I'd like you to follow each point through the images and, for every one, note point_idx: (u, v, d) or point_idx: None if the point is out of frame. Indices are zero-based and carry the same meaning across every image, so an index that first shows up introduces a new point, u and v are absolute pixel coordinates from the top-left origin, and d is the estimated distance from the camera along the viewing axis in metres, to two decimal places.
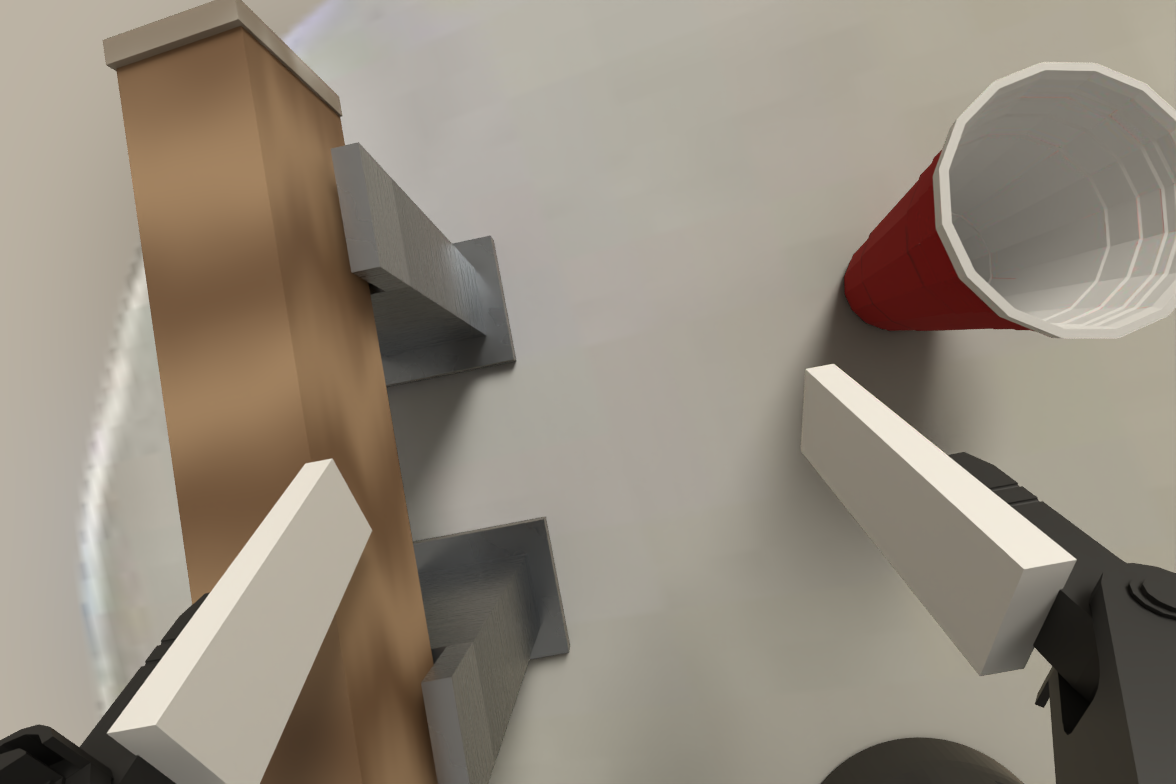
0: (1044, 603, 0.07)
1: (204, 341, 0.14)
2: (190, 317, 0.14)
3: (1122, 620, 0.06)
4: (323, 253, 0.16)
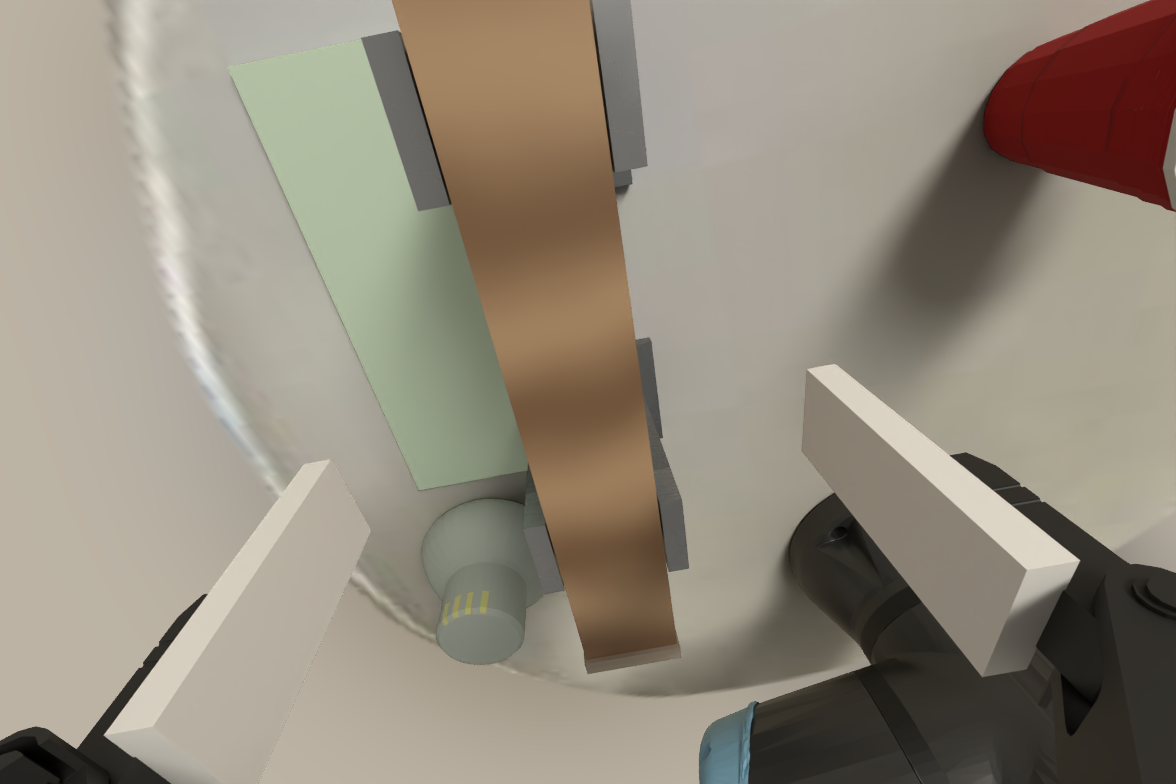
0: (1047, 604, 0.07)
1: (529, 272, 0.14)
2: (511, 246, 0.13)
3: (1125, 621, 0.06)
4: None
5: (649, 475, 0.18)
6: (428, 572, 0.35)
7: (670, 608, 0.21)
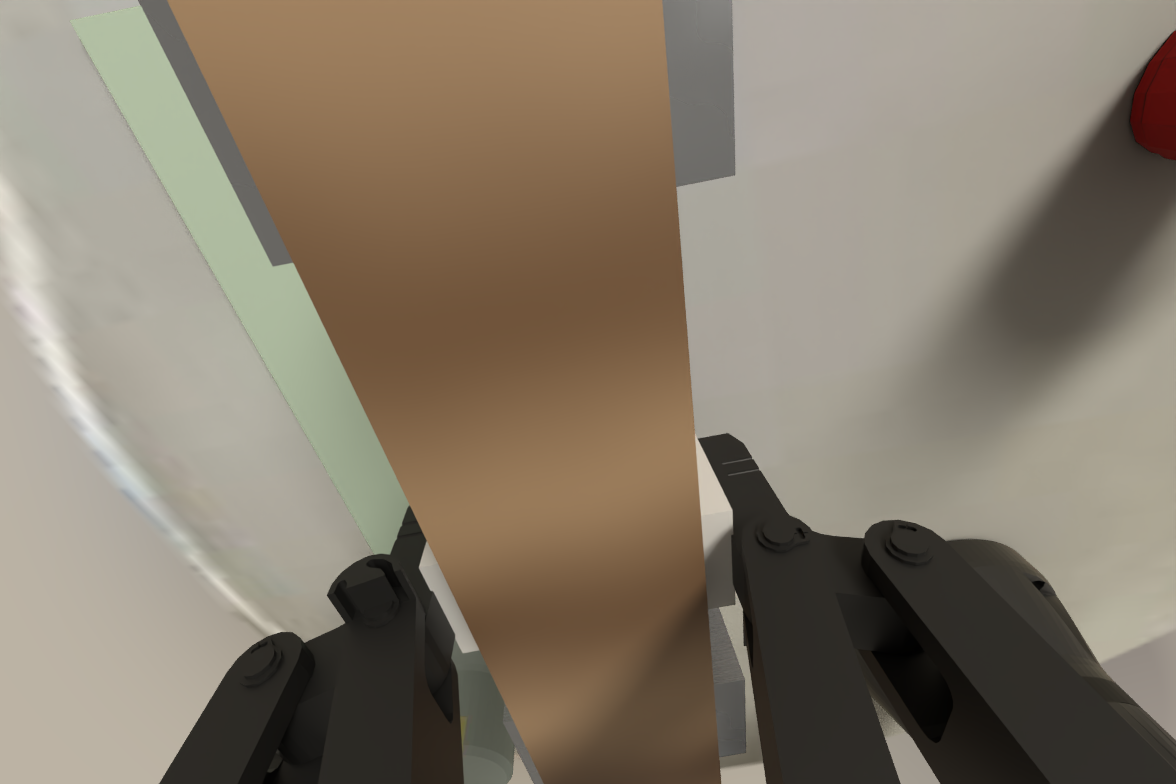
0: (723, 547, 0.09)
1: (488, 405, 0.06)
2: (445, 357, 0.06)
3: (755, 565, 0.08)
4: None
5: (706, 697, 0.10)
6: None
7: None
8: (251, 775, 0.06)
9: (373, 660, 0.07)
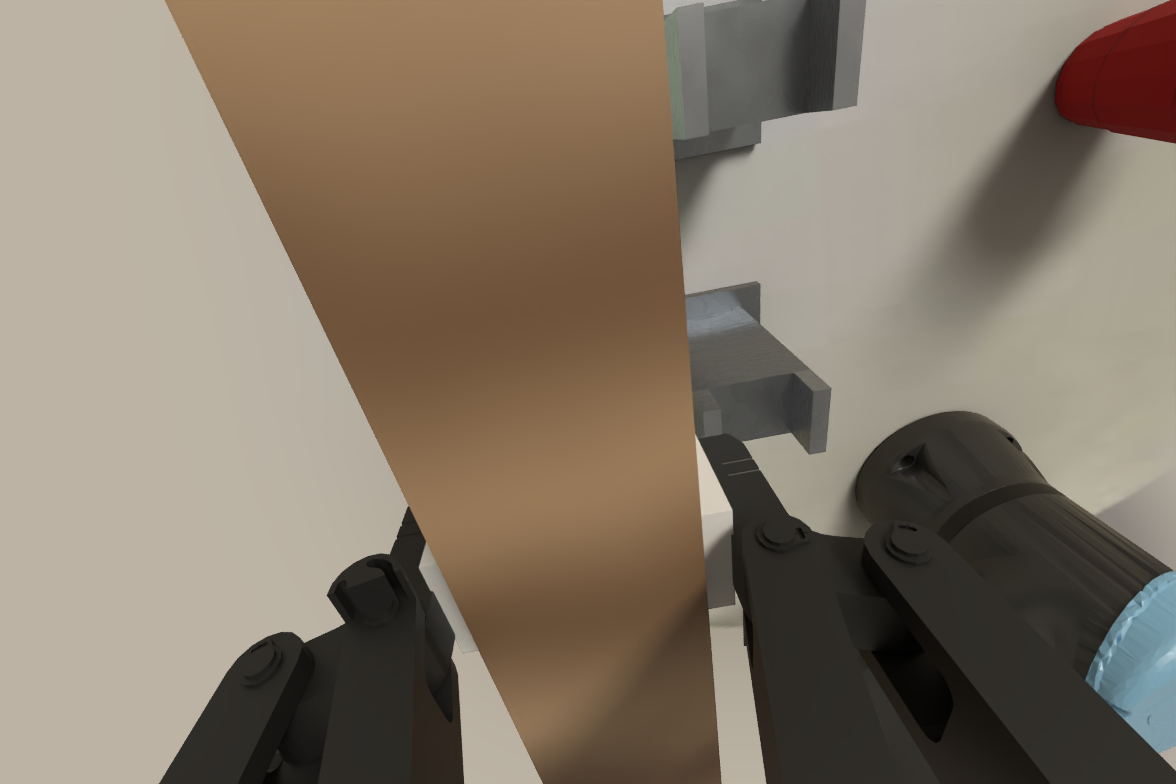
0: (723, 546, 0.09)
1: (487, 403, 0.06)
2: (443, 354, 0.06)
3: (755, 565, 0.08)
4: None
5: (706, 698, 0.10)
6: None
7: None
8: (251, 775, 0.06)
9: (373, 660, 0.07)
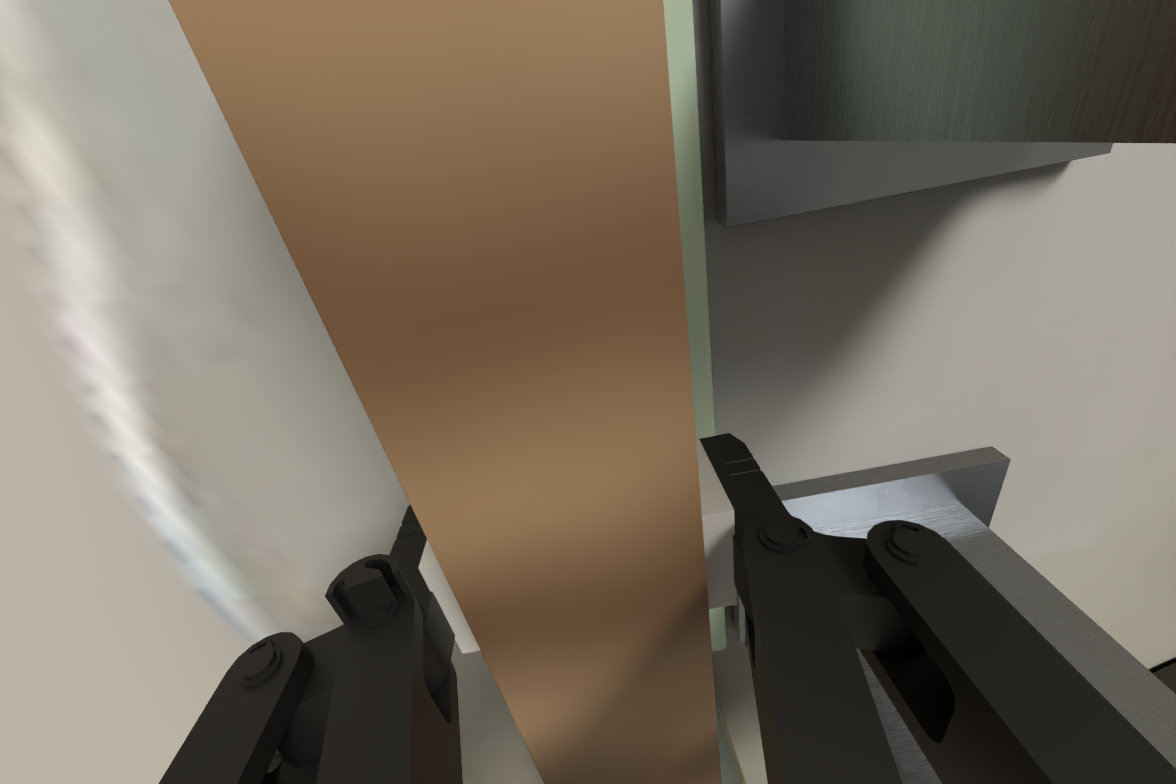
0: (724, 546, 0.09)
1: (488, 400, 0.06)
2: (444, 351, 0.06)
3: (757, 565, 0.08)
4: None
5: (707, 696, 0.10)
6: None
7: None
8: (250, 775, 0.06)
9: (371, 661, 0.07)
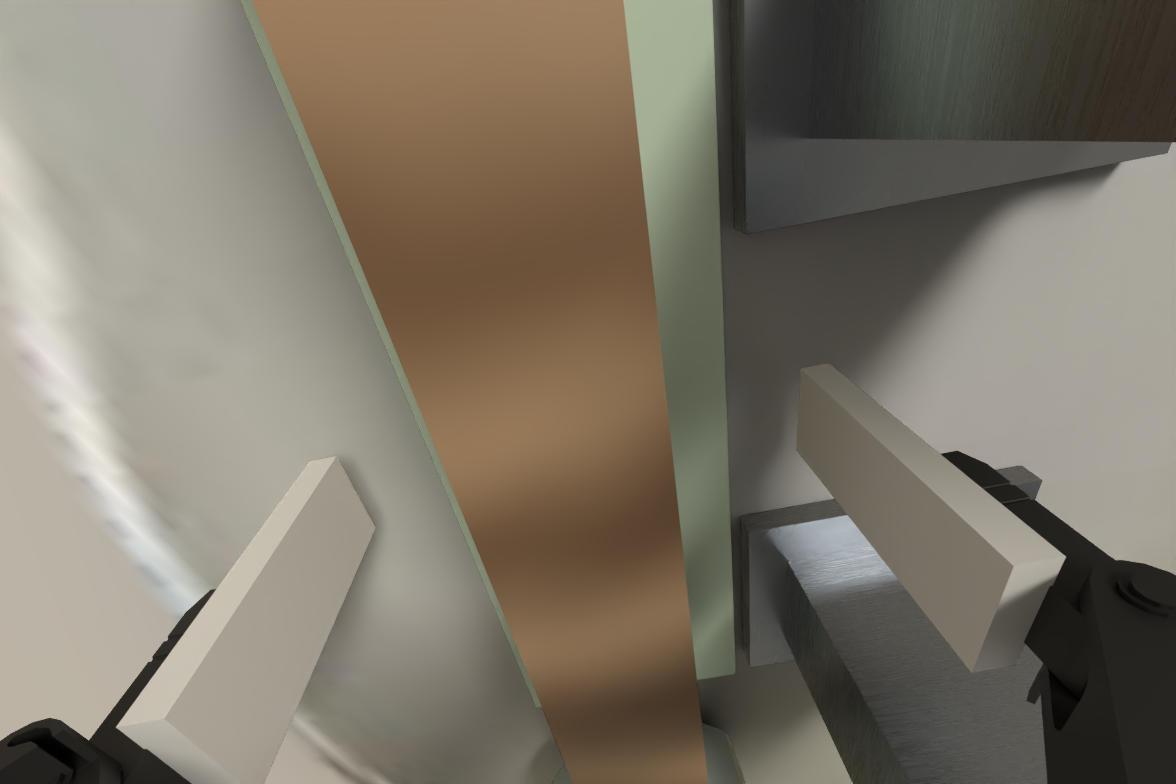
0: (1034, 600, 0.07)
1: (494, 346, 0.08)
2: (460, 304, 0.08)
3: (1110, 617, 0.06)
4: None
5: (683, 622, 0.12)
6: None
7: (704, 767, 0.16)
8: None
9: None
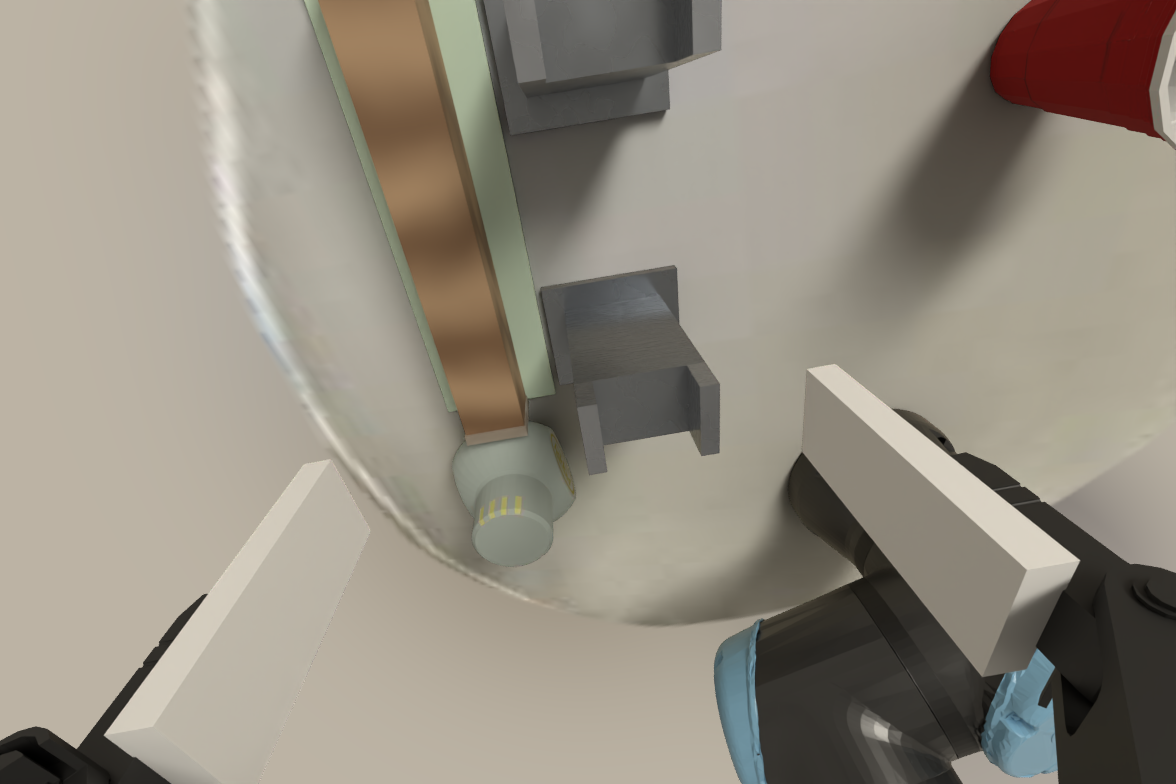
0: (1047, 604, 0.07)
1: (402, 156, 0.26)
2: (390, 140, 0.25)
3: (1126, 621, 0.06)
4: (444, 91, 0.26)
5: (487, 292, 0.30)
6: (460, 485, 0.37)
7: (515, 395, 0.34)
8: None
9: None
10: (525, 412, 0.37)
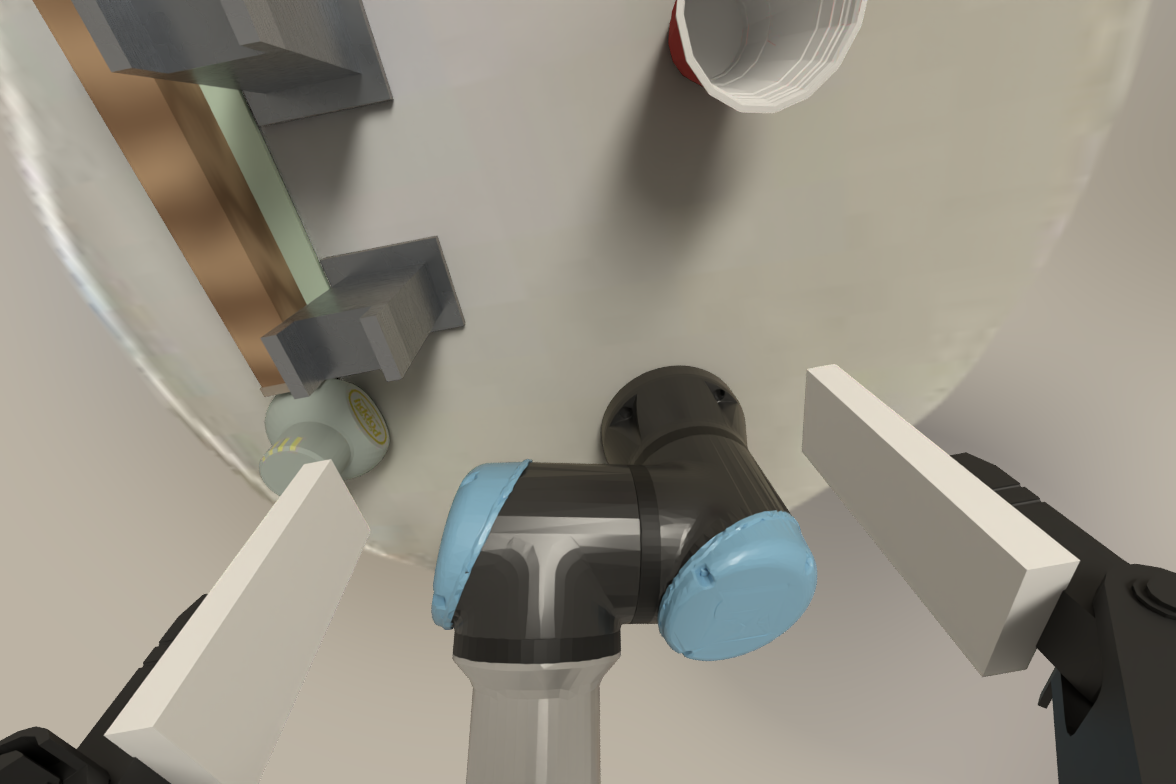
0: (1047, 604, 0.07)
1: (143, 143, 0.31)
2: (130, 130, 0.31)
3: (1126, 621, 0.06)
4: (180, 89, 0.32)
5: (245, 257, 0.35)
6: (268, 434, 0.43)
7: None
8: None
9: None
10: None
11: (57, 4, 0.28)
